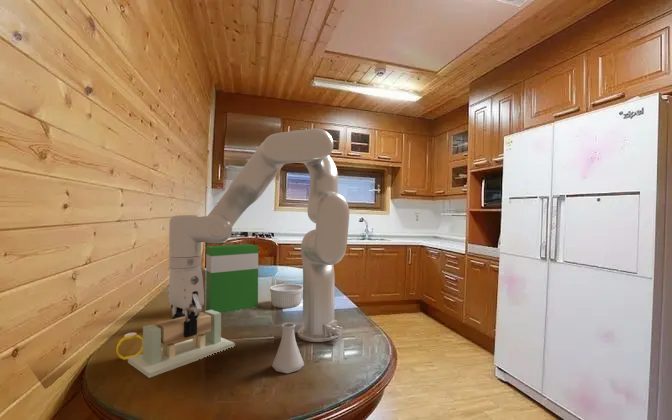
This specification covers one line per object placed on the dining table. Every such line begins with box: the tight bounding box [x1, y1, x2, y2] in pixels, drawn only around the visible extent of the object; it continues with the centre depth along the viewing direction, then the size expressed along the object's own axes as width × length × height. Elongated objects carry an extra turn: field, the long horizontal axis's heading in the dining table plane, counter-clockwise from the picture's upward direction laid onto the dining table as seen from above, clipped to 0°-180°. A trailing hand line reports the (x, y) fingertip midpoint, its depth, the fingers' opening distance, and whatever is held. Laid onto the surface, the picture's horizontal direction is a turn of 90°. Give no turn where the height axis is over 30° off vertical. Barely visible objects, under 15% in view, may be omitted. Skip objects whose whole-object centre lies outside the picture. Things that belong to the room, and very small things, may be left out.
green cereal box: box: [205, 243, 259, 314], centre depth 127 cm, size 18×7×24 cm, turn 124°
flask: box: [271, 322, 305, 374], centre depth 79 cm, size 7×7×10 cm
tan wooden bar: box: [155, 312, 211, 345], centre depth 85 cm, size 5×12×4 cm, turn 138°
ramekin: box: [269, 283, 303, 309], centre depth 133 cm, size 13×13×7 cm
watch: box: [115, 332, 143, 361], centre depth 83 cm, size 6×3×6 cm, turn 128°
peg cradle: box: [127, 310, 236, 379], centre depth 85 cm, size 12×22×9 cm, turn 142°
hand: (184, 332), depth 85 cm, fingers closed on tan wooden bar, 5 cm apart
